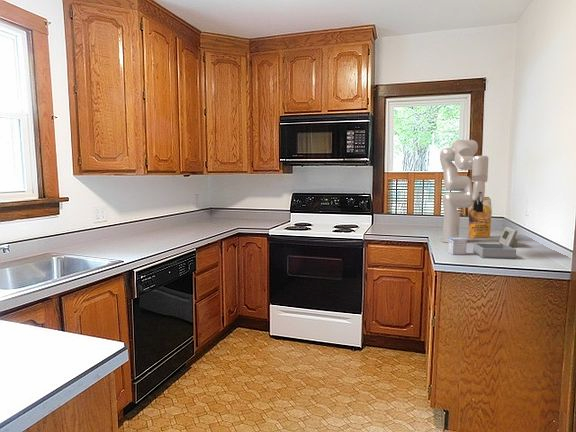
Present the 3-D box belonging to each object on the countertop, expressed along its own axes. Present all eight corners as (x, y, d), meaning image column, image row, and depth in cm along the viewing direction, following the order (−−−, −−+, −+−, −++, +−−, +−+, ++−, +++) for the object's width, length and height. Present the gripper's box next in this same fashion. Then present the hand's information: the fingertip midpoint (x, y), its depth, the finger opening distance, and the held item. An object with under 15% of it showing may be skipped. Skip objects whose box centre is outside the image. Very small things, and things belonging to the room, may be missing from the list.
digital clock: (498, 242, 245) (499, 226, 243) (515, 243, 241) (516, 227, 240) (500, 247, 230) (501, 229, 229) (518, 248, 226) (519, 230, 225)
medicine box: (461, 253, 213) (462, 237, 212) (466, 254, 209) (467, 238, 208) (448, 253, 212) (448, 237, 211) (452, 255, 207) (453, 239, 207)
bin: (472, 252, 215) (473, 243, 215) (503, 252, 213) (504, 244, 212) (482, 258, 200) (482, 248, 199) (515, 259, 197) (516, 249, 197)
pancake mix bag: (462, 236, 267) (464, 196, 264) (488, 236, 270) (490, 196, 267) (468, 238, 261) (470, 197, 258) (494, 238, 263) (496, 196, 260)
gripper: (469, 179, 215) (468, 209, 217) (474, 179, 199) (472, 212, 200) (484, 179, 213) (483, 210, 214) (490, 179, 196) (488, 212, 198)
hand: (477, 211), depth 207 cm, fingers open, 9 cm apart
